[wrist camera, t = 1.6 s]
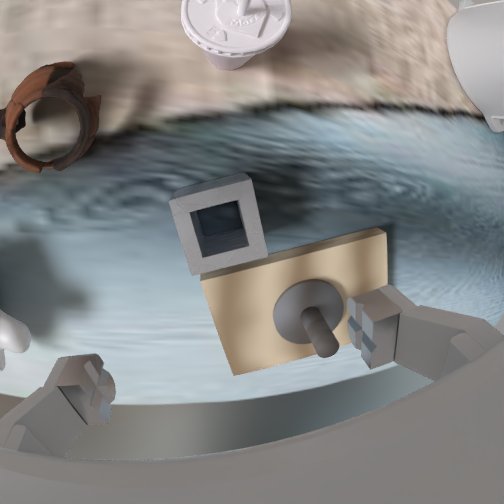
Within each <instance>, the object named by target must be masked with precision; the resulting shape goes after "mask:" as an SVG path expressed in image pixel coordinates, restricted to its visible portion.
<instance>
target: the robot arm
mask: <svg viewBox="0 0 504 504" xmlns="http://www.w3.org/2000/svg"><path fill="white" fill-rule="evenodd" d="M447 44H448V50H449V55H450V59H451V62H452V65H453V68H454V71H455V73H456V75H457V78H458V80H459V82H460V84H461V86H462V88H463V89H464V91H465V93H466V94H467V96H468V97H469V98H470V100H471V101H472V102H473V103H474V105H475V106H476V107H477V108H478V109H479V110H480V111H481V112H482V113H483V115H484V117H485V119H486V121H487V123H488V125H489V127H490V129H491V130H492V131H493V132H495V133H497V132H502V131H504V0H503V1H497V2H490V3H484V4H479V5H477V4H475V3H474V2H472V1H471V0H460V2H459V8H458V12H457V13H456V14H455V15H453V16H452V18H451V19H450V21H449V23H448V27H447ZM347 310H348V312H349V313H350V314H351V316H350V318H349V319H348V321H347V326H348V333H349V337H350V340H351V342H352V344H353V345H354V347H355V348H357V349H359V350H361V357H362V358H363V360H364V361H365V363H366V364H367V365H368V367H369V368H370V370H371V369H373V368H376V367H379V366H382V365H384V364H387V363H390V362H392V361H394V362H395V363H397V364H399V365H402V366H404V367H406V368H408V369H410V370H412V371H414V372H416V373H419V374H421V375H423V376H425V377H427V378H429V379H432V380H434V381H435V382H433V383H431V384H429V385H427V386H425V387H423V388H421V389H419V390H417V391H415V392H413V393H411V394H409V395H406V396H404V397H402V398H400V399H398V400H396V401H393V402H391V403H389V404H387V405H384V406H382V407H379V408H377V409H374V410H372V411H370V412H367V413H365V414H362V415H359V416H357V417H354V418H351V419H349V420H346V421H343V422H340V423H337V424H334V425H331V426H328V427H325V428H322V429H319V430H315V431H312V432H309V433H305V434H302V435H298V436H295V437H291V438H287V439H284V440H279V441H275V442H271V443H266V444H262V445H257V446H252V447H247V448H242V449H237V450H232V451H225V452H219V453H212V454H205V455H197V456H188V457H178V458H166V459H148V460H94V459H78V458H65V457H64V456H65V454H66V453H67V452H68V450H69V449H70V448H71V447H72V445H73V444H74V443H75V441H76V440H77V439H78V438H79V436H80V435H81V434H82V433H83V431H84V430H85V429H86V428H87V425H98V424H108V423H109V418H110V414H111V410H112V409H111V407H110V405H109V404H110V403H111V402H112V401H113V400H114V399H115V394H116V390H115V383H114V380H113V378H112V376H111V375H110V373H109V372H107V371H106V370H104V369H103V364H104V363H103V361H102V359H101V358H100V356H99V355H97V354H85V355H76V356H66V357H61V358H58V360H57V362H56V363H55V365H54V367H53V369H52V371H51V373H50V375H49V377H48V379H47V381H46V383H45V384H44V386H43V387H40V388H39V389H37V390H36V391H35V392H34V393H32V394H31V395H30V396H29V397H27V398H26V399H25V400H24V401H22V402H21V403H20V404H19V405H17V406H16V407H15V408H14V409H13V410H11V411H10V412H9V413H8V414H6V415H5V416H4V417H3V418H1V419H0V504H504V335H503V334H502V333H500V332H499V331H498V330H497V329H495V328H494V327H493V326H492V325H491V324H489V323H488V322H487V321H486V320H484V319H481V318H477V317H472V316H467V315H463V314H458V313H454V312H449V311H445V310H440V309H436V308H432V307H427V306H423V305H420V306H418V307H417V306H416V305H415V304H414V303H413V302H412V301H410V300H409V299H408V298H407V297H406V296H404V295H403V294H402V293H401V292H400V291H399V290H397V289H396V288H395V287H394V286H393V285H390V284H388V285H385V286H382V287H380V288H377V289H375V290H372V291H369V292H366V293H363V294H360V295H357V296H354V297H350V298H348V300H347Z"/></svg>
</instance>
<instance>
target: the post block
mask: <svg viewBox="0 0 504 504" xmlns="http://www.w3.org/2000/svg"><path fill="white" fill-rule="evenodd" d="M200 282H201V285H202V288H203V291H204V294H205V297H206V300H207V303H208V306H209V309H210V312H211V315H212V318H213V320H214V323H215V326H216V329H217V332H218V335H219V337H220V340H221V343H222V346H223V349H224V351H225V354H226V357H227V359H228V362H229V365H230V367H231V370H232V373H233V375H234V376H235V375H240V374H244V373H248V372H252V371H257V370H261V369H265V368H269V367H272V366H276V365H280V364H284V363H287V362H291V361H295V360H298V359H302V358H305V357H308V356H312V355H315V354H318V356H320V357H322V358H327V357H330V356H332V355H334V354H335V353H336V352H337V351H338V349H339V347H340V346H343V345H346V344H349V343H352V342H351V340H350V337H349V333H348V326H347V321H348V319H349V318H350V316H351V314H350V313H349V312H348V310H347V300H348V298H350V297H354V296H357V295H360V294H363V293H366V292H369V291H372V290H375V289H377V288H380V287H382V286H385V285H388V275H387V237H386V232H384V231H382V230H381V229H379V228H377V227H374V228H370V229H366V230H363V231H359V232H355V233H351V234H347V235H343V236H339V237H336V238H332V239H328V240H324V241H320V242H316V243H312V244H308V245H305V246H301V247H297V248H293V249H289V250H285V251H281V252H277V253H273V254H269V255H268V257H265V258H261V259H257V260H253V261H249V262H245V263H241V264H237V265H233V266H229V267H225V268H221V269H218V270H214V271H210V272H206V273H202V274H201V278H200Z"/></svg>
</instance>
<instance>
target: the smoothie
mask: <svg viewBox="0 0 504 504" xmlns="http://www.w3.org/2000/svg"><path fill="white" fill-rule="evenodd" d="M291 19H292V5H291V1H290V0H183V1H182V6H181V20H182V25H183V27H184V30H185V32H186V34H187V35H188V36H189V37H190V39H191V40H192V41H193V42H194V43H195V44H196V45H198V46H199V47H201V49H202V50H203V52H204V54H205V55H206V57H207V59H208V60H209V62H210V63H211V64H212V65H213V66H214V67H216V68H218V69H221V70H234V69H237V68H239V67H241V66H242V65H244V64H245V63H246V62H247V61H248V60H249V59H251V58H252V57H253V56H254V55H256V54H260V53H262V52H264V51H266V50H268V49H270V48H272V47H273V46H274V45H275V44H276V43H278V42H279V41H280V40H281V39H282V38H283V36H284V34H285V32H286V31H287V29H288V27H289V25H290V22H291Z"/></svg>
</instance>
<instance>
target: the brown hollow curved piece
mask: <svg viewBox="0 0 504 504" xmlns="http://www.w3.org/2000/svg"><path fill="white" fill-rule="evenodd" d="M74 66H75V64H74V63H72V62H58V63H54V64H51V65H45V66H43V67H40V68H39V69H37V70H35V71H34V72H32V73H31V74H29V75H28V76H27V77H26V78H25V79H24V80H23V82H22V83H21V84H20V85H19V86H18V87H17V88H16V90H15V91H14V93H13V95H12V100H10V101H9V103H8V105H7V107H6V108H4V109H1V110H0V139H3V140H5V141H6V144H7V147H8V150H9V152H10V154H11V155H12V157H13V158H14V160H15V161H16V162H17V163H18V164H19V165H20V166H22V167H23V168H25V169H26V170H28V171H31V172H35V173H40V172H41V171H42V169H45V168H46V169H55V170H57V171H61V170H63V169H65V168H67V167H68V166H70V165H71V164H72V163H74V162H75V161H77V160H78V159H79V158H80V157H81V156H82V155H83V154H84V153H85V152H86V151H87V150H88V149H89V147H90V146H91V144H92V143H93V141H94V139H95V135H94V134H95V133H96V132H97V130H98V124H99V116H98V115H99V106H100V102H101V96H100V95H99V96H97V97H83V93H84V83H83V81H82V74H81V73H79V72H77V71H76V70H72V71H71V72H70V73H68V75H65V76H63V77H61V78H60V79H58V80H57V81H55V82H53V83H52V84H50V85H49V80H50V77H51V75H52V74H53V72H54V71H55V70H58V69H61V68H73V67H74ZM44 97H56V98H60V99H62V100H64V101H66V102H67V103H69V104H70V105H71V106H72V107H73V108H74V109H75V110H76V112H77V114H78V116H79V120H80V125H81V130H80V136H79V138H78V141H77V143H76V145H75V146H74V148H73V149H72V150H71V151H70V152H69V153H68V154H67V155H65V156H64V157H61V158H57V159H54V160H52V161H50V162H42V161H38V160H35V159H32V158H31V157H29V156H27V155H26V154H25V153H24V152H23V151H22V150H21V148H20V147H19V145H18V142H17V140H16V133H17V132H18V131H19V130H20V129H21V128H24V127H25V125H26V122H25V115H26V112H25V110H24V109H25V108H26V107H27V106H28V105H29V104H31V103H32V102H34V101H36V100H38V99H42V98H44Z"/></svg>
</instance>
